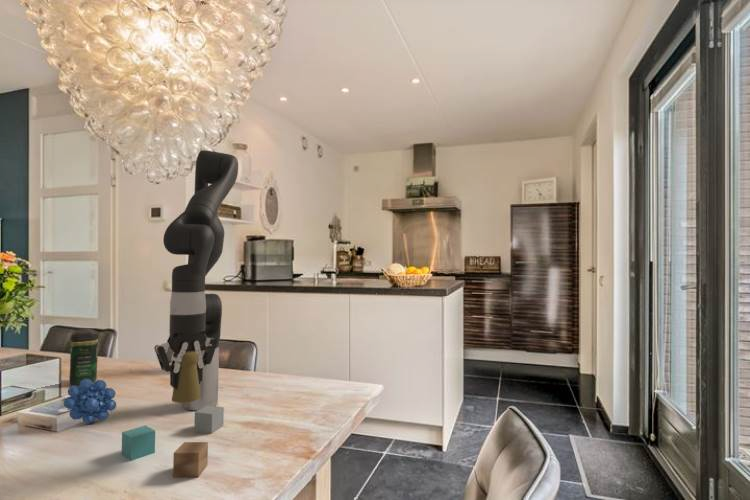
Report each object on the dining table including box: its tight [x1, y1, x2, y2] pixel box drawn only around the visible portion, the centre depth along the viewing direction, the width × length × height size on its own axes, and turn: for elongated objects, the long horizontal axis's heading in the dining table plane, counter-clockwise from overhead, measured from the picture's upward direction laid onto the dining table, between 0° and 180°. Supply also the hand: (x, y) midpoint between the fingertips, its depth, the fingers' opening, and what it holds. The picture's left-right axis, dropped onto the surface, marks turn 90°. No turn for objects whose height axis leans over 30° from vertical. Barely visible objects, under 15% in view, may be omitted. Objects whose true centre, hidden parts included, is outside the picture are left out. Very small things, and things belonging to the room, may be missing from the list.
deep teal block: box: [121, 425, 156, 462], centre depth 94 cm, size 5×5×5 cm
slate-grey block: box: [193, 405, 225, 434], centre depth 108 cm, size 5×5×5 cm
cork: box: [171, 351, 201, 404], centre depth 96 cm, size 6×6×11 cm
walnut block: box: [172, 441, 209, 479], centre depth 87 cm, size 5×5×5 cm
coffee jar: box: [69, 328, 99, 387], centre depth 147 cm, size 10×8×19 cm
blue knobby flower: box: [63, 379, 117, 425], centre depth 110 cm, size 12×7×12 cm, turn 128°
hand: (186, 385), depth 96 cm, fingers closed on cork, 4 cm apart
